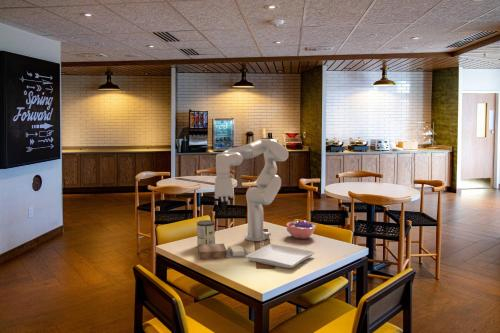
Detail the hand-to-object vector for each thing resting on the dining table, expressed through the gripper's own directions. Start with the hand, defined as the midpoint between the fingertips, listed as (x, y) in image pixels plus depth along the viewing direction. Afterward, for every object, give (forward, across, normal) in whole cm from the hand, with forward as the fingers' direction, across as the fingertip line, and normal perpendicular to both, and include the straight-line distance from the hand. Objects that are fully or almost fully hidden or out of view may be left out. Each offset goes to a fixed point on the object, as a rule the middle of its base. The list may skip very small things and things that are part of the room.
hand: (224, 207), depth 241 cm
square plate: (+24, -24, +28) cm, 44 cm away
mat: (+23, -4, +14) cm, 27 cm away
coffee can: (+23, +11, -4) cm, 26 cm away
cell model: (+25, -48, -10) cm, 55 cm away
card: (+20, -4, +14) cm, 24 cm away
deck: (+22, +10, +13) cm, 27 cm away
